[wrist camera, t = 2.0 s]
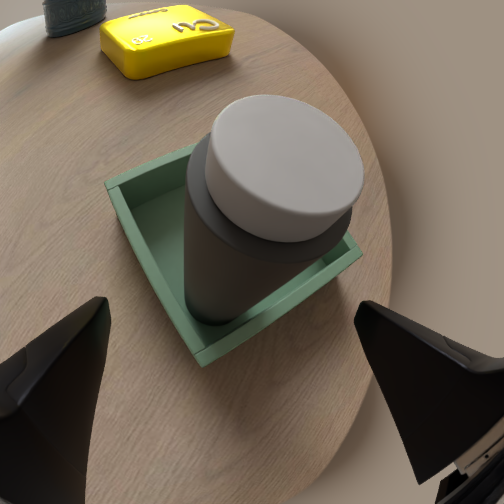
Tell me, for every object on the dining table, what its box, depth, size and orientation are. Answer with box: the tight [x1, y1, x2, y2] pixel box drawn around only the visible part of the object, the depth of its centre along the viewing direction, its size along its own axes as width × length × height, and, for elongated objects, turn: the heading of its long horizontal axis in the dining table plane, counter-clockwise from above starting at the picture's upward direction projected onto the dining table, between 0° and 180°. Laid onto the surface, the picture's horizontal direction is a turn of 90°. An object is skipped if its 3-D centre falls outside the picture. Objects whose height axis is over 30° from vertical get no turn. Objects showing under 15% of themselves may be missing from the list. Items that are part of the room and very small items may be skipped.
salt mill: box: [184, 95, 364, 326], centre depth 11 cm, size 4×4×14 cm
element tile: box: [99, 5, 235, 80], centre depth 26 cm, size 15×15×5 cm
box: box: [104, 142, 363, 368], centre depth 18 cm, size 13×13×4 cm
